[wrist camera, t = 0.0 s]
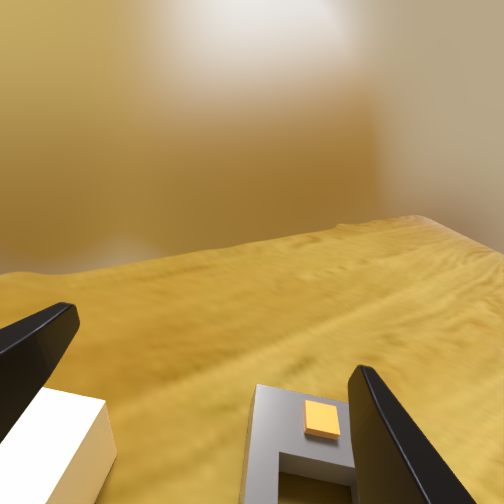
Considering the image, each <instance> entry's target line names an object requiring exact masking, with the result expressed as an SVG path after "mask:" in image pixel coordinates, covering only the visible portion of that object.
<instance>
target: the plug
mask: <svg viewBox="0 0 504 504" xmlns="http://www.w3.org/2000/svg"><path fill="white" fill-rule="evenodd" d="M116 456H117V450H116V446H115V441H114V437H113V432H112V428H111V423H110V419H109V414H108V410H107V405H106V401H104V400H99V399H94V398H90V397H85V396H80V395H76V394H71V393H66V392H62V391H57V390H52V389H48V388H43V387H42V388H41V390H40V391H39V392H38V394H37V395H36V396H35V398H34V399H33V400H32V402H31V403H30V405H29V406H28V407H27V409H26V410H25V411H24V413H23V414H22V415H21V417H20V418H19V420H18V421H17V422H16V424H15V425H14V426H13V428H12V429H11V430H10V432H9V433H8V435H7V436H6V437H5V439H4V440H3V441H2V443H1V444H0V504H94V503H95V501H96V499H97V496H98V494H99V492H100V490H101V488H102V486H103V484H104V481H105V479H106V477H107V475H108V473H109V471H110V469H111V466H112V464H113V462H114V460H115V458H116Z"/></svg>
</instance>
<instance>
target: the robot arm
mask: <svg viewBox="0 0 504 504" xmlns="http://www.w3.org/2000/svg"><path fill="white" fill-rule="evenodd" d="M79 326H80V320H79V316H78V312H77V308H76V306H75V305H74V304H71V303H66V302H59V303H57V304H55V305H52V306H50V307H48V308H46V309H44V310H41V311H39V312H37V313H35V314H33V315H30V316H28V317H26V318H24V319H22V320H19V321H17V322H15V323H13V324H11V325H8V326H6V327H4V328H2V329H0V444H1V443H2V441H3V440H4V439H5V437H6V436H7V435H8V433H9V432H10V430H11V429H12V428H13V426H14V425H15V424H16V422H17V421H18V420H19V418H20V417H21V415H22V414H23V413H24V411H25V410H26V409H27V407H28V406H29V405H30V403H31V402H32V400H33V399H34V398H35V396H36V395H37V394H38V392H39V391H40V390H41V388H42V387H43V385H44V384H45V383H46V381H47V380H48V378H49V377H50V376H51V374H52V373H53V371H54V369H55V368H56V366H57V364H58V363H59V361H60V359H61V358H62V356H63V354H64V353H65V351H66V349H67V348H68V346H69V344H70V343H71V341H72V339H73V338H74V336H75V334H76V333H77V331H78V329H79ZM348 401H349V421H350V437H351V446H352V453H353V459H354V466H355V472H356V479H357V485H358V492H359V498H360V504H477V503H476V502H475V500H474V499H473V498H472V496H471V495H470V494H469V493H468V491H467V490H466V489H465V487H464V486H463V485H462V483H461V482H460V481H459V479H458V478H457V477H456V476H455V474H454V473H453V472H452V470H451V469H450V468H449V466H448V465H447V464H446V462H445V461H444V460H443V459H442V457H441V456H440V455H439V453H438V452H437V451H436V449H435V448H434V447H433V445H432V444H431V443H430V442H429V440H428V439H427V438H426V436H425V435H424V434H423V432H422V431H421V430H420V428H419V427H418V426H417V425H416V423H415V422H414V421H413V419H412V418H411V417H410V415H409V414H408V413H407V411H406V410H405V409H404V408H403V406H402V405H401V404H400V402H399V401H398V400H397V398H396V397H395V396H394V394H393V393H392V392H391V390H390V389H389V388H388V387H387V385H386V384H385V383H384V381H383V380H382V379H381V377H380V376H379V375H378V373H377V372H376V371H375V370H374V369H373V368H372V367H370V366H365V365H358V366H357V367H356V369H355V370H354V372H353V374H352V375H351V377H350V379H349V381H348Z"/></svg>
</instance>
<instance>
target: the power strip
mask: <svg viewBox="0 0 504 504" xmlns="http://www.w3.org/2000/svg"><path fill="white" fill-rule="evenodd" d="M278 471H279V472H284V473H289V474H293V475H298V476H303V477H307V478H312V479H317V480H321V481H326V482H331V483H335V484H340V485H344V486H349V487H350V490H351V496H352V503H353V504H360V498H359V492H358V485H357V479H356V472H355V466H354V459H353V453H352V446H351V437H350V421H349V403H346V402H341V401H336V400H332V399H327V398H322V397H317V396H313V395H308V394H303V393H299V392H294V391H289V390H284V389H280V388H275V387H270V386H266V385H261V384H256V388H255V391H254V394H253V397H252V401H251V405H250V413H249V422H248V430H247V438H246V447H245V455H244V463H243V472H242V480H241V489H240V497H239V504H278Z"/></svg>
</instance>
